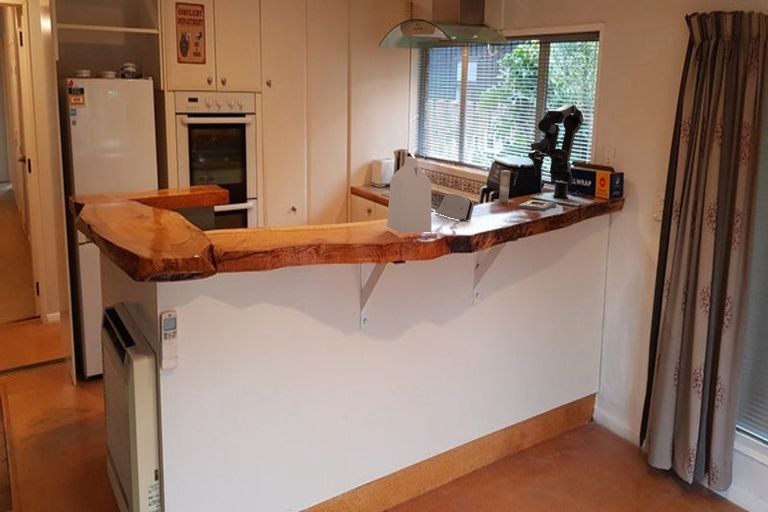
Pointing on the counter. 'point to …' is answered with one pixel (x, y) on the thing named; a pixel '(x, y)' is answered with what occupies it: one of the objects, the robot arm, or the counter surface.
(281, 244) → the counter surface
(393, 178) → the milk
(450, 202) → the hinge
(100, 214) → the counter surface
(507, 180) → the peg
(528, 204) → the rack plate
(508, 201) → the pad
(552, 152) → the robot arm
